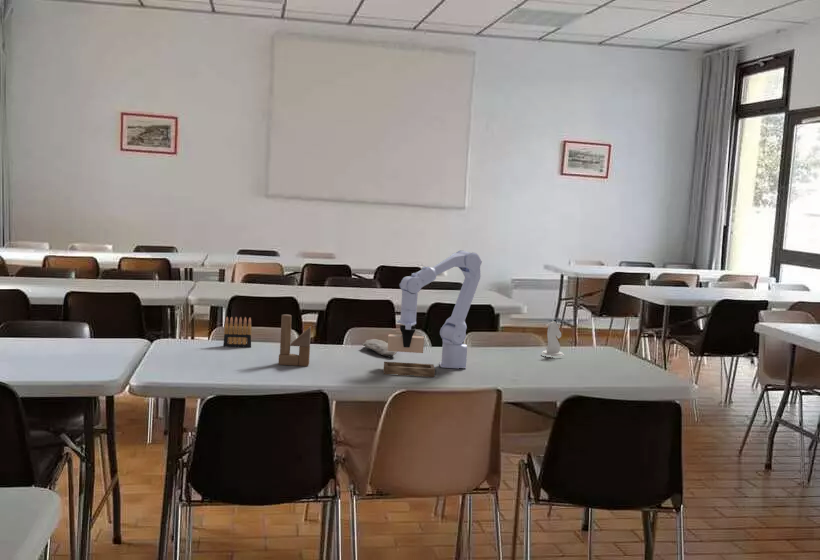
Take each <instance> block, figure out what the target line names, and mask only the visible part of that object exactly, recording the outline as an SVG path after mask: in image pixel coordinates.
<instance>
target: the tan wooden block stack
mask: <svg viewBox="0 0 820 560" xmlns="http://www.w3.org/2000/svg"><path fill="white" fill-rule="evenodd" d="M280 322H281V323H280V345H279V346H280V347H279V354H278V362H277V363H278V365H280V366H281V365H282V366H295V367H296V366H297V367H298V366H299V367H309V365H310V357H311V356H310V352H311V351H310V350H311V334H312V333H311V331H312V330H311V329H312V326H311V325H309V327H308V328H307V329H305V330H304V331H303V332H302V333H300V335H299V336H297V338H296V339H294V340H293V341H292V342H291V339H292V337H291V336H292V315H291V314H287V313H286V314H281V321H280ZM291 347H299V349H298V354H296V353H291Z"/></svg>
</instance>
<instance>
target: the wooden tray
mask: <svg viewBox="0 0 820 560" xmlns="http://www.w3.org/2000/svg"><path fill="white" fill-rule="evenodd" d="M435 370H436V368H435V365H434V364H432V363H415V362H395V361H383V375H388V374H398V375H397V376H407V375H414V376H413V377H426V378H427V377H429V378H435V374H436V373H435V372H436V371H435Z"/></svg>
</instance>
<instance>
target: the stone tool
mask: <svg viewBox="0 0 820 560" xmlns="http://www.w3.org/2000/svg"><path fill="white" fill-rule="evenodd" d="M362 346H364V347H365V348H366V349H369V350H371V349H372V351H374V352H375V353H377V354H378V355H380V354H381V356H384V357H392V356H394V355H396V354H397V353H398V352H396V351H388V342H386V341H385V340H382V339H377V338H371V339H366V340H365V342H364V343H362Z"/></svg>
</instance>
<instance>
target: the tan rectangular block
mask: <svg viewBox="0 0 820 560" xmlns="http://www.w3.org/2000/svg"><path fill="white" fill-rule="evenodd" d="M387 343H388V351H396V352H397V353H413V354H414V353H415V354H417V353H418V354H423V353H424V347H425V345H424V344H425V337H424V335H423V336H422V335H413V336H412V340H411V344H410V347H404V346H403V336H402V334H391V333H389V334H388V339H387Z"/></svg>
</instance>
